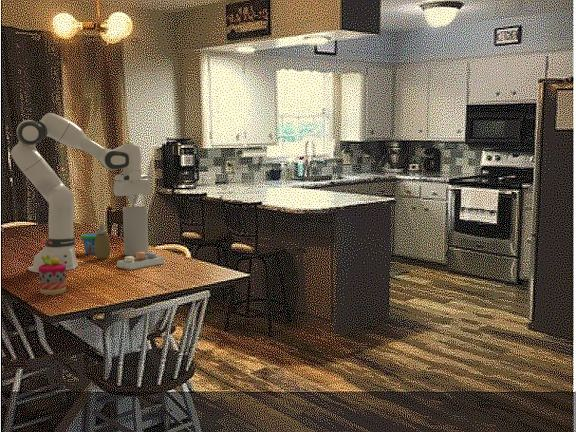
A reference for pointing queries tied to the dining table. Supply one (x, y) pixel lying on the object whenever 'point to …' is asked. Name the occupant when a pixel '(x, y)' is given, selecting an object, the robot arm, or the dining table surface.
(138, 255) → the terracotta button
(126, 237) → the cylinder vase
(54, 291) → the cake
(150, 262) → the panel
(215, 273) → the dining table surface
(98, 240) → the squeeze bottle
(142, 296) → the dining table surface
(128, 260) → the ivory button
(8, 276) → the dining table surface
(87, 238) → the snack cup
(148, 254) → the slate button
